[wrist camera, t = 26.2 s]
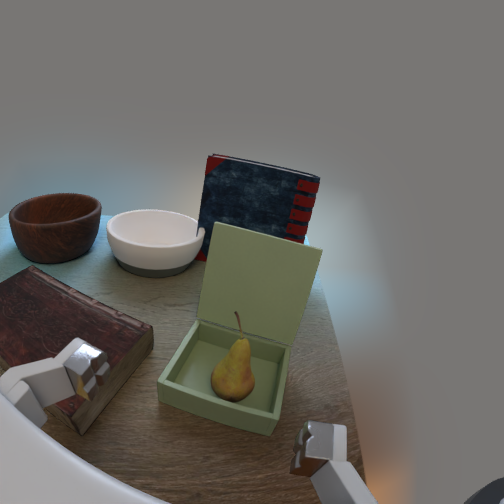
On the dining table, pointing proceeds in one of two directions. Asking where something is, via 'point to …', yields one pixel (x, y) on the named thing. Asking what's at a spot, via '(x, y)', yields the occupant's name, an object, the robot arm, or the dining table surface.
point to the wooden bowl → (55, 226)
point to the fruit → (234, 372)
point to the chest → (199, 378)
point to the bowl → (154, 241)
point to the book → (255, 199)
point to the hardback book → (68, 336)
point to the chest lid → (257, 282)
